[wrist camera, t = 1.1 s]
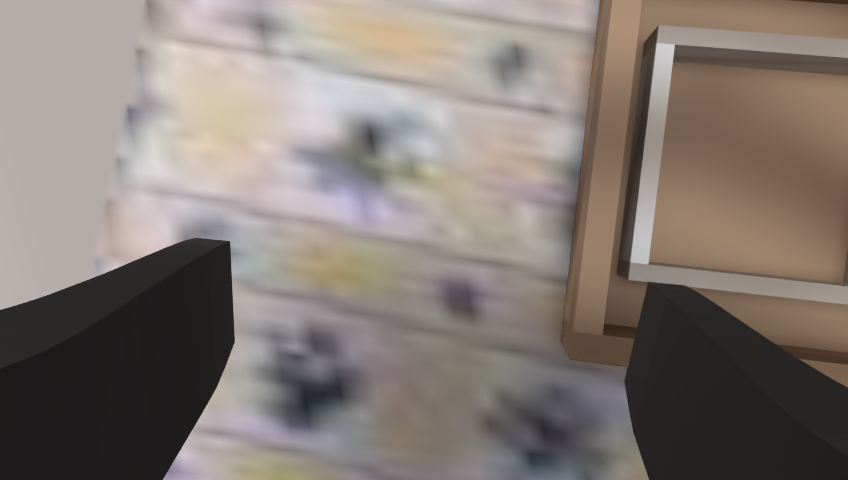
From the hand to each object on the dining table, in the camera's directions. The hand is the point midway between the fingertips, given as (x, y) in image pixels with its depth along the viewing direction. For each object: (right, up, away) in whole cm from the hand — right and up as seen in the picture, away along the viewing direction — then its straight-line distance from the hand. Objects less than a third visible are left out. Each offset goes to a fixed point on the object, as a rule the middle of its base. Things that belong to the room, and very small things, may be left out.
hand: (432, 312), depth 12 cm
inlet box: (+10, +3, +10) cm, 14 cm away
